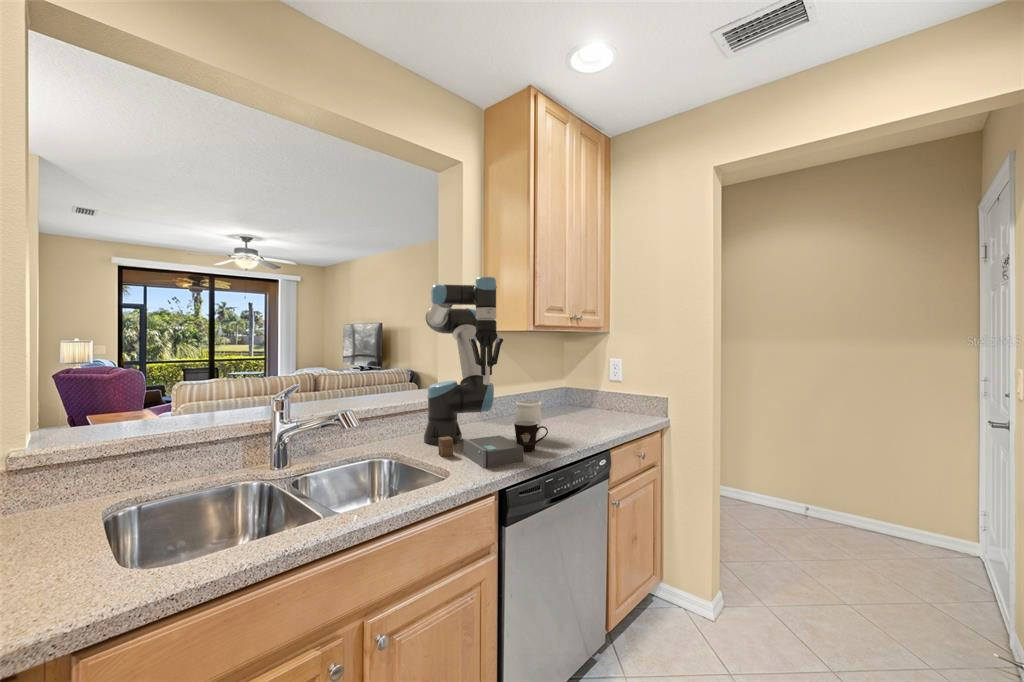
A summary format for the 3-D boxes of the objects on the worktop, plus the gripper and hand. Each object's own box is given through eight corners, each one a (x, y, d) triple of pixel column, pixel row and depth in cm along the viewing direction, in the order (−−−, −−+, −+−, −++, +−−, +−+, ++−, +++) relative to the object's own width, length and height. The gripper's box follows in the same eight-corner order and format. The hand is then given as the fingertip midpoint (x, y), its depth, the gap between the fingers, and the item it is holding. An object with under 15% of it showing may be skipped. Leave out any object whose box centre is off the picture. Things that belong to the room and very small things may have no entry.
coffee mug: (510, 451, 163) (510, 424, 163) (520, 446, 170) (520, 419, 170) (539, 455, 157) (539, 427, 157) (549, 449, 165) (548, 422, 165)
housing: (466, 454, 160) (466, 438, 159) (499, 449, 166) (499, 434, 165) (487, 467, 143) (487, 451, 143) (523, 462, 149) (523, 446, 149)
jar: (510, 439, 181) (510, 402, 181) (528, 435, 188) (528, 399, 188) (528, 443, 173) (528, 405, 173) (547, 439, 180) (546, 402, 180)
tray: (462, 454, 158) (462, 439, 158) (495, 450, 164) (495, 434, 164) (482, 467, 143) (482, 450, 143) (517, 462, 149) (517, 445, 149)
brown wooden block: (438, 454, 159) (438, 437, 159) (449, 452, 161) (449, 436, 161) (442, 457, 156) (442, 440, 156) (453, 455, 158) (453, 438, 158)
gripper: (473, 319, 157) (473, 386, 158) (506, 319, 163) (507, 384, 163) (465, 319, 164) (466, 384, 164) (498, 320, 170) (498, 382, 170)
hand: (486, 384), depth 164 cm, fingers closed
